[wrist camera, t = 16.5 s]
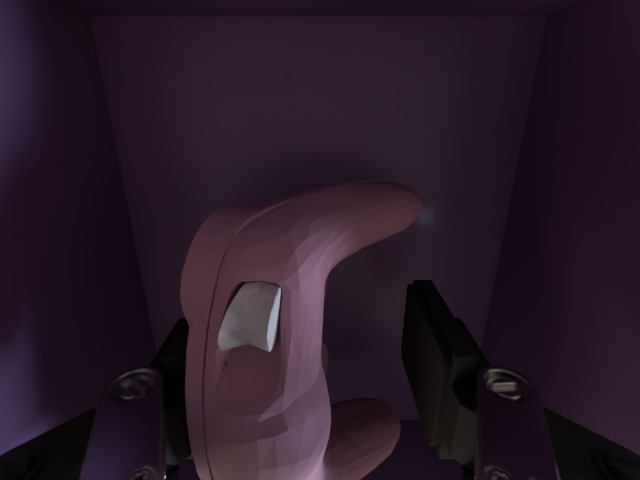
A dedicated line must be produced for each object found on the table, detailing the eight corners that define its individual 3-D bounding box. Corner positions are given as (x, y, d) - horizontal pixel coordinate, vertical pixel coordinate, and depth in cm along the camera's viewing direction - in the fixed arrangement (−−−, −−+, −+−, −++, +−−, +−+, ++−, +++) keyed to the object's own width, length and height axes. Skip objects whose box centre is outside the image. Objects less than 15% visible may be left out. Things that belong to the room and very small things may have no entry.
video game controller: (295, 161, 12) (99, 220, 7) (433, 172, 10) (331, 269, 5) (302, 389, 16) (180, 558, 10) (406, 427, 14) (329, 663, 8)
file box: (474, 418, 18) (588, 654, 11) (162, 418, 18) (48, 655, 11) (561, -8, 12) (1039, -214, 4) (73, -7, 12) (-413, -214, 4)
